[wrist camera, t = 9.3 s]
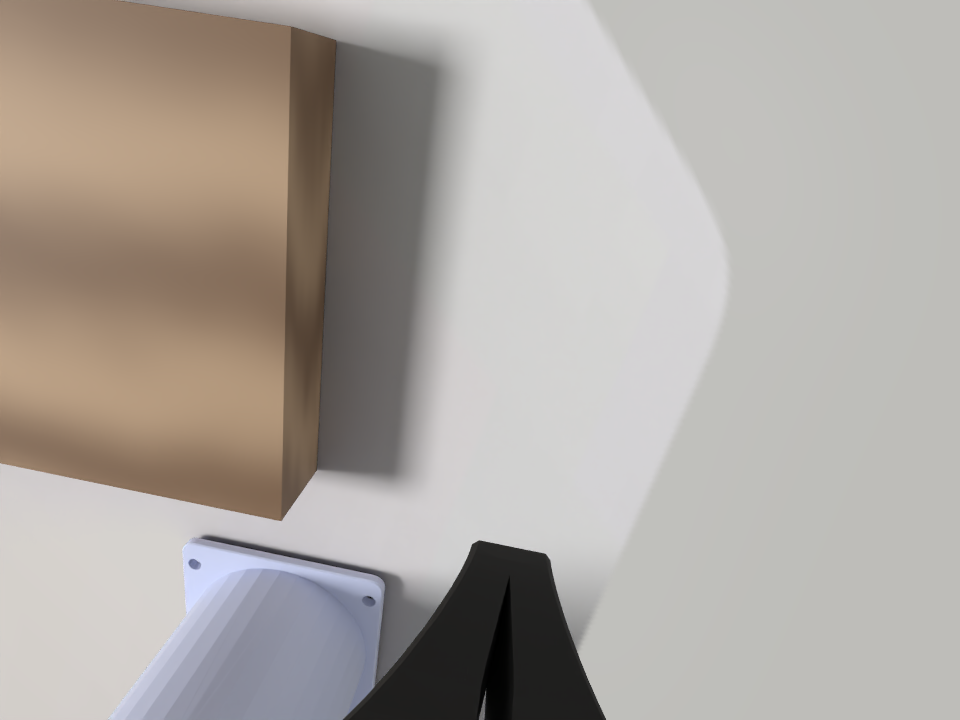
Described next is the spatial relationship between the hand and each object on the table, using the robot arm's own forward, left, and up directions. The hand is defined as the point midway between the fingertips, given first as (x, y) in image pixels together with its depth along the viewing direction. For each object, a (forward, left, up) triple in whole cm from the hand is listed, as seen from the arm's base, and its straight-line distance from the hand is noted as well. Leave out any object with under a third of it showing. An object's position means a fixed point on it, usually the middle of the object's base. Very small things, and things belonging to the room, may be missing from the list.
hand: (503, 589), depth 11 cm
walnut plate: (+2, +13, -9) cm, 16 cm away
